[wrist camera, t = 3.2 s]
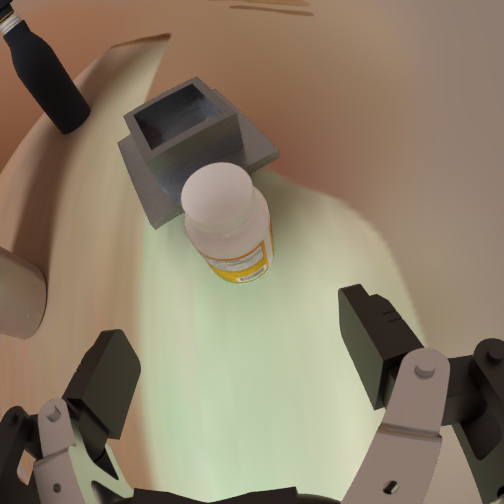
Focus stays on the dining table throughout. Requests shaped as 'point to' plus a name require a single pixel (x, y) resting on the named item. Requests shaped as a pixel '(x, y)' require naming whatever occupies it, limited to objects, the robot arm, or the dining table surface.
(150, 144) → the square socket
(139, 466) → the dining table surface
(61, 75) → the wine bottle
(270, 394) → the dining table surface
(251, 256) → the supplement bottle
